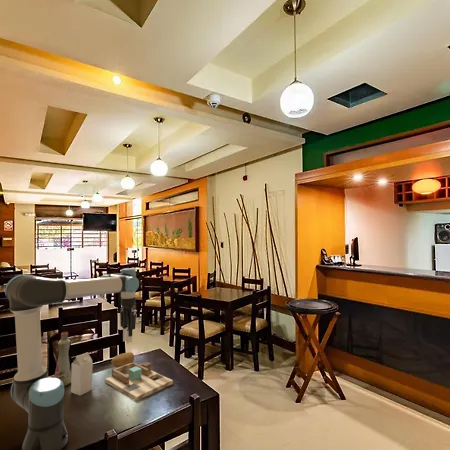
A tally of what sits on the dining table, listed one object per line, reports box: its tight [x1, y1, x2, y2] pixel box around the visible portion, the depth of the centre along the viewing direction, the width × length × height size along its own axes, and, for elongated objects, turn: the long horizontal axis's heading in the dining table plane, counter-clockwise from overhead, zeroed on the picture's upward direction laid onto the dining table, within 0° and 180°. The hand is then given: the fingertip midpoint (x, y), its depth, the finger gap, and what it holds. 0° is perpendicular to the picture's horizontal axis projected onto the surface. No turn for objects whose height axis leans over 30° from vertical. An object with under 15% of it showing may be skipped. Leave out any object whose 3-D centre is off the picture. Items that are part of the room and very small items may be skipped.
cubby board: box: [104, 361, 174, 402], centre depth 167 cm, size 23×30×6 cm
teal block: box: [128, 366, 142, 381], centre depth 168 cm, size 5×5×5 cm
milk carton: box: [70, 352, 93, 396], centre depth 158 cm, size 7×7×19 cm
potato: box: [110, 351, 135, 369], centre depth 187 cm, size 10×14×8 cm
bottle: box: [53, 331, 72, 387], centre depth 166 cm, size 9×9×28 cm
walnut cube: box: [140, 362, 152, 371], centre depth 178 cm, size 4×4×4 cm
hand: (127, 341), depth 162 cm, fingers open, 3 cm apart
